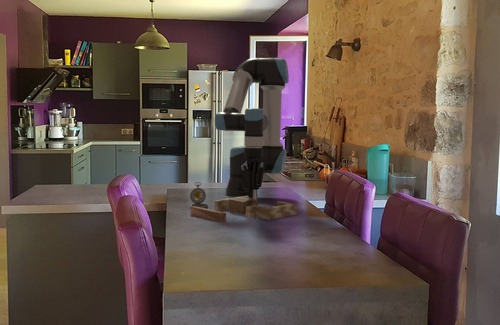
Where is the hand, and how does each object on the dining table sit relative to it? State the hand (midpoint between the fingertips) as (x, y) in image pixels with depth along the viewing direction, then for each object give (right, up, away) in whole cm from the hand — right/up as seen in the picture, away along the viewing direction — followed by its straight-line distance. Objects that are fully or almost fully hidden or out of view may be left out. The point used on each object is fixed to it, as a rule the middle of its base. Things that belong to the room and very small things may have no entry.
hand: (252, 205), depth 218 cm
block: (-4, -2, -3) cm, 5 cm away
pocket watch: (-22, -1, +6) cm, 23 cm away
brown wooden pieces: (-4, -3, -8) cm, 9 cm away
